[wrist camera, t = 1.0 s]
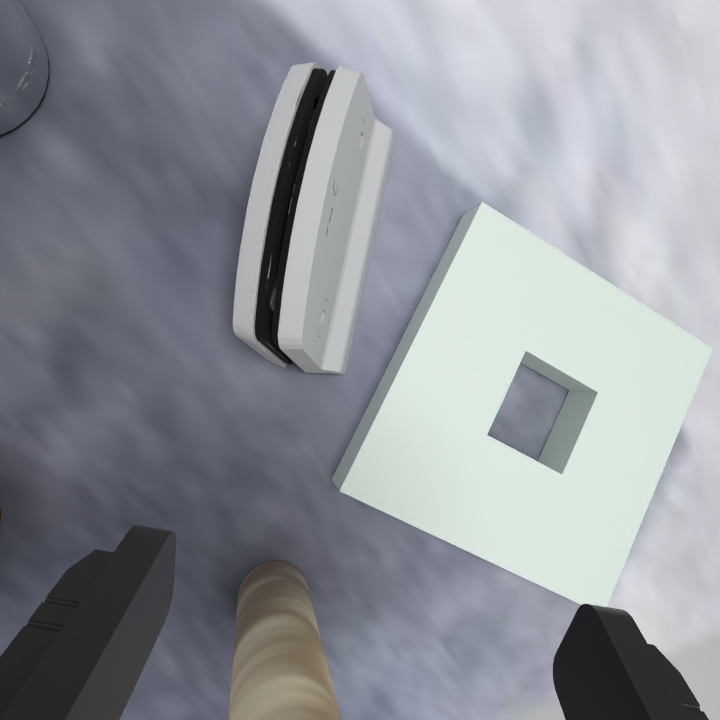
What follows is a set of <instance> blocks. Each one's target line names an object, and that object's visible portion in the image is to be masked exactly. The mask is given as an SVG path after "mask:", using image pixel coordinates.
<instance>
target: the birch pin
mask: <svg viewBox="0 0 720 720" xmlns="http://www.w3.org/2000/svg"><path fill="white" fill-rule="evenodd" d="M229 720H341V718H340V714H339V710H338V706H337V702H336V698H335V694H334V690H333V686H332V682H331V678H330V674H329V670H328V666H327V661H326V657H325V653H324V649H323V645H322V641H321V637H320V633H319V629H318V625H317V621H316V617H315V613H314V609H313V605H312V600H311V596H310V592H309V588H308V584H307V581H306V578H305V577H304V575H303V573H302V572H301V571H300V570H299V569H298V568H297V567H296V566H294V565H292V564H290V563H288V562H285V561H269V562H265V563H262V564H260V565H258V566H257V567H255V568H254V569H252V570H251V571H250V572H249V573H248V574H247V575H246V577H245V578H244V580H243V581H242V583H241V585H240V588H239V591H238V599H237V612H236V626H235V640H234V653H233V667H232V680H231V694H230V708H229Z"/></svg>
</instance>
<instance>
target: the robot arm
mask: <svg viewBox="0 0 720 720" xmlns="http://www.w3.org/2000/svg"><path fill="white" fill-rule="evenodd" d="M48 75H49V73H48V57H47V53H46V50H45V46H44V43H43V40H42V38H41V36H40V34H39V33H38V31H37V29H36V27H35V25H34V24H33V22H32V20H31V19H30V17H29V16H28V14H27V13H26V11H25V9H24V8H23V6H22V5H21V3H20V2H19V0H0V135H2V134H4V133H6V132H8V131H11V130H13V129H15V128H16V127H17V126H19V125H20V124H21V123H22V122H24V121H25V120H26V119H28V118H29V116H30V115H31V114H32V113H33V112H34V110H35V109H36V108H37V107H38V105H39V103H40V101H41V99H42V97H43V95H44V93H45V90H46V85H47V80H48ZM175 551H176V533H175V532H173V531H167V530H161V529H155V528H150V527H144V526H138V525H135V526H133V527H132V528H131V529H130V530H129V531H128V533H127V534H126V535H125V537H124V538H123V540H122V541H121V543H120V544H119V546H118V547H117V549H116V550H115V552H114V553H113V552H107V551H101V550H94V551H93V552H92V553H90V554H89V555H87V556H86V557H85V558H83V559H82V560H80V561H79V562H78V563H76V564H75V565H73V566H72V567H71V568H69V569H68V570H67V571H66V572H65V573H64V575H63V576H62V577H61V579H60V580H59V581H58V582H57V584H56V585H55V586H54V588H53V589H52V590H51V592H50V593H49V594H48V595H47V597H46V600H45V602H44V603H43V602H42V603H41V605H40V606H39V607H38V609H37V610H36V611H35V612H34V614H33V615H32V616H31V618H30V619H29V622H28V624H27V626H24V627H23V628H22V629H21V631H20V632H19V633H18V635H17V636H16V637H15V638H14V640H13V641H12V642H11V644H10V645H9V646H8V648H7V649H6V650H5V651H4V653H3V654H2V655H1V657H0V720H119V719H120V717H121V715H122V713H123V710H124V708H125V706H126V704H127V702H128V700H129V697H130V695H131V693H132V691H133V689H134V687H135V685H136V682H137V680H138V678H139V676H140V674H141V672H142V669H143V667H144V665H145V663H146V661H147V659H148V656H149V654H150V652H151V650H152V648H153V646H154V644H155V641H156V639H157V637H158V635H159V633H160V631H161V628H162V626H163V624H164V621H165V619H166V616H167V613H168V610H169V607H170V603H171V599H172V593H173V583H174V567H175ZM553 679H554V685H555V690H556V693H557V696H558V699H559V702H560V705H561V707H562V710H563V713H564V716H565V719H566V720H709V719H708V718H707V716H706V715H705V713H704V712H702V711H700V708H699V706H700V705H699V703H698V701H697V700H696V698H695V696H694V695H693V693H692V692H691V690H690V688H689V687H688V685H687V683H686V682H685V680H684V678H683V677H682V675H681V673H680V672H679V671H678V670H677V669H676V668H675V667H674V666H673V665H672V664H671V663H670V662H669V661H668V660H667V658H666V657H665V656H664V655H663V654H662V653H661V652H660V651H659V650H658V649H657V648H656V647H655V646H654V645H651V644H647V642H646V640H645V639H644V637H643V635H642V634H641V632H640V630H639V628H638V627H637V625H636V623H635V621H634V620H633V618H632V617H631V616H630V614H629V613H627V612H626V611H624V610H621V609H615V608H609V607H603V606H597V605H591V604H583V605H581V606H580V607H579V609H578V610H577V612H576V614H575V616H574V618H573V620H572V622H571V624H570V626H569V628H568V630H567V632H566V634H565V636H564V638H563V640H562V642H561V644H560V646H559V648H558V650H557V652H556V654H555V658H554V663H553Z"/></svg>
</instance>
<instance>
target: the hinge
mask: <svg viewBox="0 0 720 720" xmlns="http://www.w3.org/2000/svg"><path fill="white" fill-rule="evenodd" d="M393 148H394V137H393V131H392V130H391V129H390V128H389V127H387V126H386V125H384V124H383V123H381V122H380V121H378V120H377V119H376V118H375V116H374V112H373V108H372V105H371V101H370V97H369V93H368V89H367V86H366V82H365V78H364V74H363V73H362V72H360V71H357V70H354V69H351V68H348V67H345V66H341V65H340V66H338V68H337V69H336V70H332V71H330V73H329V75H328V76H327V73H326V71H325V70H324V69H320V67H319V64H318V63H317V62H312V63H305V64H298V65H293V66H292V67H291V69H290V71H289V73H288V75H287V77H286V79H285V81H284V84H283V86H282V89H281V91H280V94H279V96H278V99H277V101H276V104H275V107H274V110H273V113H272V116H271V119H270V122H269V125H268V128H267V131H266V134H265V137H264V140H263V144H262V148H261V151H260V155H259V159H258V163H257V167H256V171H255V175H254V178H253V183H252V187H251V192H250V197H249V202H248V206H247V212H246V217H245V223H244V229H243V235H242V241H241V247H240V254H239V261H238V269H237V277H236V287H235V298H234V310H233V330H234V333H235V335H236V336H237V337H238V338H240V339H241V340H242V341H244V342H245V343H246V344H247V345H249V346H250V347H251V348H253V349H254V350H255V351H257V352H258V353H259V354H261V355H262V356H263V357H264V358H266V359H267V360H268V361H270V362H273V363H275V364H277V365H279V366H281V367H283V368H286V366H287V364H290V365H292V363H293V362H295V363H296V364H297V365H298V366H299V367H300V368H301V369H302V370H303V371H304V372H305V373H334V374H337V375H345V373H346V369H347V364H348V359H349V355H350V350H351V345H352V341H353V336H354V331H355V326H356V322H357V317H358V312H359V308H360V303H361V298H362V294H363V289H364V284H365V280H366V275H367V270H368V265H369V261H370V256H371V251H372V247H373V242H374V237H375V233H376V228H377V223H378V219H379V214H380V209H381V205H382V200H383V195H384V190H385V186H386V181H387V176H388V172H389V167H390V162H391V158H392V153H393Z"/></svg>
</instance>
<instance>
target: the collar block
mask: <svg viewBox="0 0 720 720" xmlns="http://www.w3.org/2000/svg"><path fill="white" fill-rule="evenodd" d="M712 350H713V348H711V347H710V346H708V345H706V344H705V343H703V342H702V341H700V340H699V339H697V338H695V337H694V336H692V335H691V334H689V333H688V332H686V331H684V330H683V329H681V328H680V327H678V326H677V325H675V324H673V323H672V322H670V321H669V320H667V319H666V318H664V317H662V316H661V315H659V314H658V313H656V312H655V311H653V310H651V309H650V308H648V307H647V306H645V305H644V304H642V303H640V302H639V301H637V300H636V299H634V298H633V297H631V296H629V295H628V294H626V293H625V292H623V291H622V290H620V289H618V288H617V287H615V286H614V285H612V284H611V283H609V282H607V281H606V280H604V279H603V278H601V277H600V276H598V275H596V274H595V273H593V272H592V271H590V270H589V269H587V268H585V267H584V266H582V265H581V264H579V263H578V262H576V261H574V260H573V259H571V258H570V257H568V256H567V255H565V254H564V253H562V252H560V251H559V250H557V249H556V248H554V247H553V246H551V245H549V244H548V243H546V242H545V241H543V240H542V239H540V238H538V237H537V236H535V235H534V234H532V233H531V232H529V231H527V230H526V229H524V228H523V227H521V226H520V225H518V224H516V223H515V222H513V221H512V220H510V219H509V218H507V217H505V216H504V215H502V214H501V213H499V212H498V211H496V210H494V209H493V208H491V207H490V206H488V205H487V204H485V203H483V202H481V203H480V204H478V205H477V206H476V207H474V208H473V209H471V210H470V211H469V212H467V213H466V214H465V215H463V216H462V218H461V220H460V222H459V224H458V226H457V228H456V230H455V232H454V234H453V236H452V238H451V240H450V242H449V244H448V246H447V248H446V250H445V252H444V254H443V256H442V258H441V260H440V262H439V264H438V266H437V268H436V270H435V272H434V274H433V276H432V278H431V280H430V282H429V284H428V286H427V288H426V290H425V292H424V294H423V296H422V298H421V300H420V302H419V304H418V306H417V308H416V310H415V312H414V314H413V316H412V318H411V320H410V322H409V324H408V326H407V328H406V330H405V332H404V334H403V336H402V338H401V340H400V342H399V344H398V346H397V348H396V350H395V352H394V354H393V357H392V359H391V361H390V363H389V365H388V367H387V369H386V371H385V373H384V375H383V377H382V379H381V381H380V383H379V385H378V387H377V389H376V391H375V393H374V395H373V397H372V399H371V401H370V403H369V405H368V407H367V409H366V411H365V413H364V415H363V417H362V419H361V421H360V423H359V425H358V427H357V429H356V431H355V433H354V435H353V437H352V439H351V441H350V443H349V445H348V447H347V449H346V451H345V453H344V455H343V457H342V459H341V461H340V463H339V465H338V467H337V469H336V471H335V473H334V475H333V477H332V479H331V480H332V481H333V483H334V484H335V485H336V487H337V488H338V490H339V491H340V492H342V493H344V494H346V495H349V496H351V497H353V498H355V499H357V500H359V501H361V502H363V503H366V504H368V505H370V506H372V507H374V508H376V509H378V510H381V511H383V512H385V513H387V514H389V515H391V516H393V517H395V518H398V519H400V520H402V521H404V522H406V523H408V524H410V525H412V526H415V527H417V528H419V529H421V530H423V531H425V532H427V533H430V534H432V535H434V536H436V537H438V538H440V539H442V540H444V541H447V542H449V543H451V544H453V545H455V546H457V547H459V548H461V549H464V550H466V551H468V552H470V553H472V554H474V555H476V556H479V557H481V558H483V559H485V560H487V561H489V562H491V563H493V564H496V565H498V566H500V567H502V568H504V569H506V570H508V571H510V572H513V573H515V574H517V575H519V576H521V577H523V578H525V579H528V580H530V581H532V582H534V583H536V584H538V585H540V586H542V587H545V588H547V589H549V590H551V591H553V592H555V593H557V594H559V595H562V596H564V597H566V598H568V599H570V600H572V601H574V602H577V603H579V604H581V605H583V604H591V605H597V606H603V607H607V605H608V603H609V600H610V598H611V595H612V593H613V590H614V588H615V586H616V583H617V581H618V578H619V576H620V573H621V571H622V569H623V566H624V564H625V561H626V559H627V556H628V554H629V552H630V549H631V547H632V544H633V542H634V539H635V537H636V535H637V532H638V530H639V527H640V525H641V522H642V520H643V517H644V515H645V513H646V510H647V508H648V505H649V503H650V500H651V498H652V496H653V493H654V491H655V488H656V486H657V483H658V481H659V479H660V476H661V474H662V471H663V469H664V466H665V464H666V462H667V459H668V457H669V454H670V452H671V449H672V447H673V444H674V442H675V440H676V437H677V435H678V432H679V430H680V427H681V425H682V423H683V420H684V418H685V415H686V413H687V410H688V408H689V406H690V403H691V401H692V398H693V396H694V393H695V391H696V389H697V386H698V384H699V381H700V379H701V376H702V374H703V371H704V369H705V367H706V364H707V362H708V359H709V357H710V354H711V352H712ZM520 363H522V364H524V365H526V366H527V367H529V368H531V369H533V370H534V371H536V372H538V373H540V374H541V375H543V376H545V377H547V378H548V379H550V380H552V381H554V382H555V383H557V384H559V385H561V386H562V387H564V388H566V389H568V390H569V392H568V394H567V396H566V399H565V401H564V403H563V405H562V408H561V410H560V412H559V414H558V417H557V419H556V421H555V423H554V426H553V428H552V430H551V432H550V435H549V437H548V439H547V441H546V444H545V446H544V448H543V450H542V453H541V455H540V457H539V459H538V462H537V461H535V460H534V459H532V458H530V457H528V456H526V455H524V454H522V453H520V452H518V451H517V450H515V449H513V448H511V447H509V446H507V445H505V444H503V443H501V442H499V441H498V440H496V439H494V438H492V437H490V436H488V435H487V434H488V432H489V429H490V427H491V425H492V423H493V421H494V419H495V416H496V414H497V412H498V410H499V408H500V406H501V403H502V401H503V399H504V397H505V395H506V393H507V390H508V388H509V386H510V384H511V382H512V380H513V377H514V375H515V373H516V371H517V369H518V367H519V364H520Z"/></svg>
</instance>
